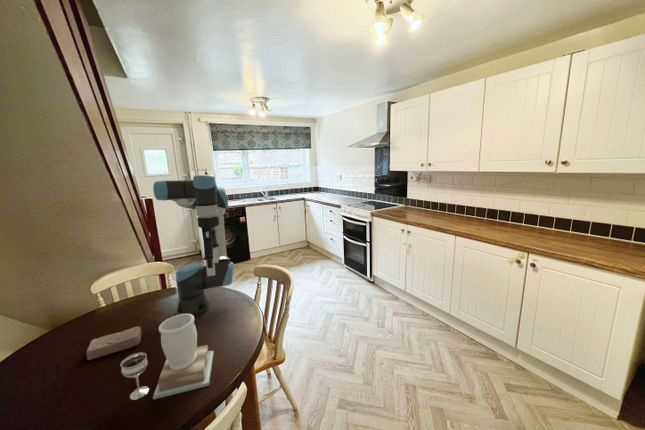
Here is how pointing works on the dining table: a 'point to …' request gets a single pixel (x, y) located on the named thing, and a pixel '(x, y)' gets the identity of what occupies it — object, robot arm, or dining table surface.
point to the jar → (179, 340)
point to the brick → (114, 343)
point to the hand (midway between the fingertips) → (213, 268)
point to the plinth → (185, 371)
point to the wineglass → (135, 372)
